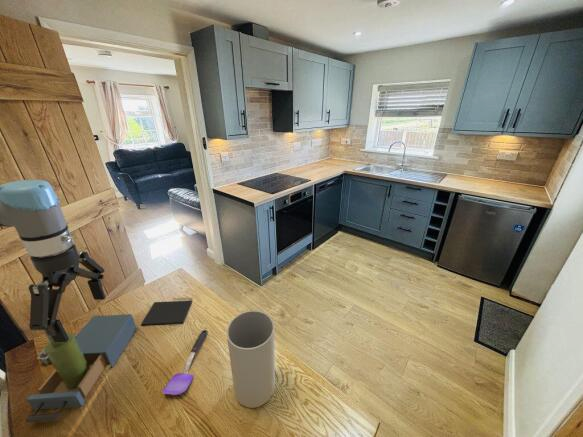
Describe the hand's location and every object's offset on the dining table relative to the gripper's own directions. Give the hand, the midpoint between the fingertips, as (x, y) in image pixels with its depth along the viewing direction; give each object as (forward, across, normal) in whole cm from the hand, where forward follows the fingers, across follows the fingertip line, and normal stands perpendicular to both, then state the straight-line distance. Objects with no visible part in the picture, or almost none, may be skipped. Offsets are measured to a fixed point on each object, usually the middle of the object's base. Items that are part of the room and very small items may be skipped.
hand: (82, 317), depth 62 cm
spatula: (+28, +6, -23) cm, 36 cm away
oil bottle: (+26, 0, +9) cm, 28 cm away
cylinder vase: (+26, -4, -45) cm, 52 cm away
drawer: (+27, -3, +9) cm, 29 cm away
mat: (+28, +28, -6) cm, 40 cm away
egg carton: (+29, +11, +22) cm, 38 cm away
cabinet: (+28, +12, +9) cm, 32 cm away
